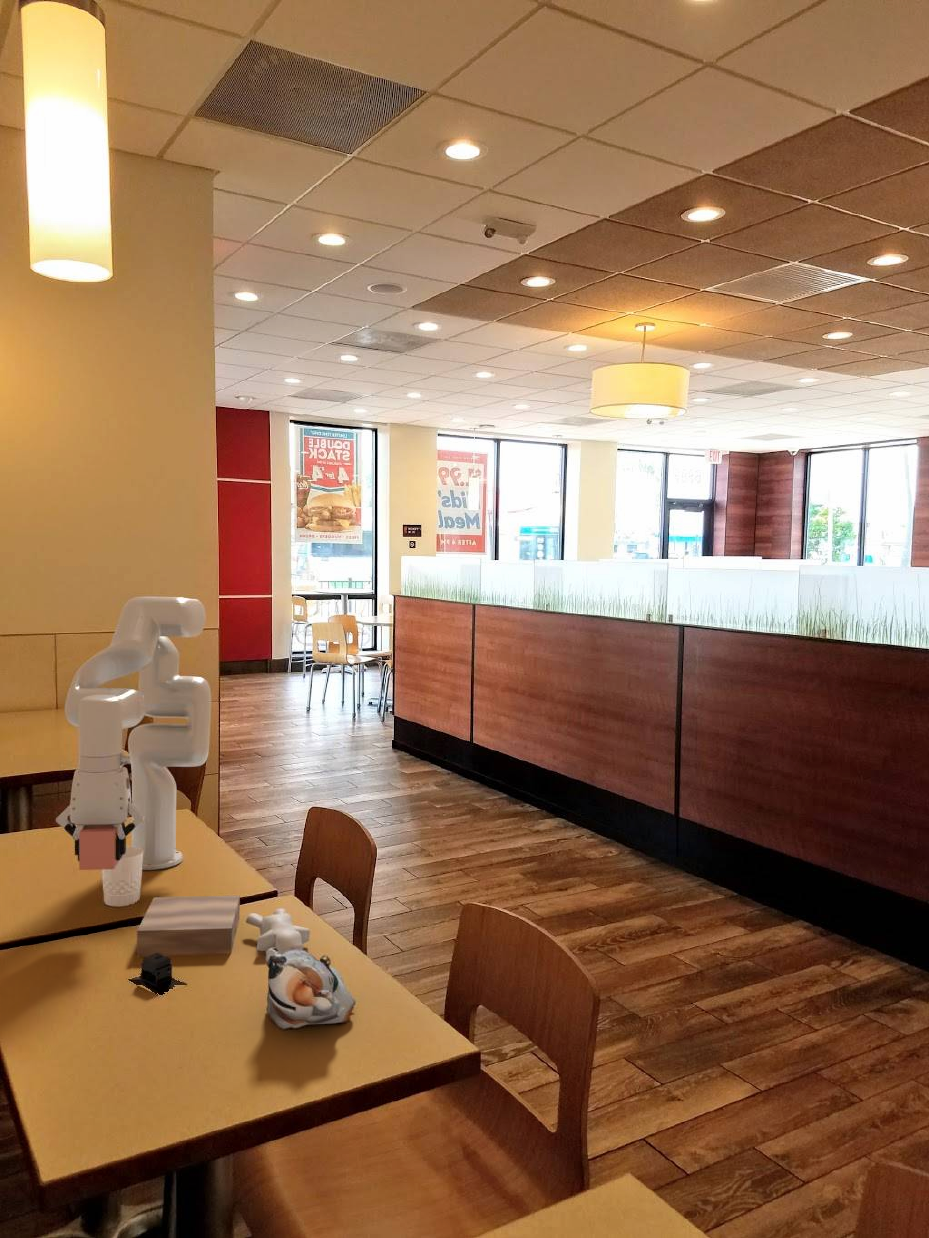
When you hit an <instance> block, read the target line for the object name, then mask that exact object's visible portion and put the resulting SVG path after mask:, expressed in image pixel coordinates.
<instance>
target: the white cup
mask: <svg viewBox="0 0 929 1238" xmlns="http://www.w3.org/2000/svg"><path fill="white" fill-rule="evenodd" d="M142 863H143V850H142V849H141V848H138V847H133V846H132V845H130V846H129V845H126V853H125V854H123V856H122V857H121V859H120V860H119V862H118V864H117V865H116V867H115V868H114V869H101V878H102V890H103V902H104V904H105V905H107V906H110V907H117V908H119V907H126V906H131V905H134V904H136V903H137V901H138V900H139V901H140V897H141V887H142V879H143V878H142V877H143V870H142ZM139 901H138V902H139ZM135 902H136V903H135ZM130 904H131V905H130Z"/></svg>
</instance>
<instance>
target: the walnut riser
mask: <svg viewBox="0 0 929 1238" xmlns="http://www.w3.org/2000/svg"><path fill="white" fill-rule="evenodd" d="M240 898H241V896H240V895H207V896H206V895H205V896H201V895H199V896H164V897H163V896H161V897H160V896H159V897H157V896H156V897H153V898H152V901H151V903H150V905H149V907H148V908H147V911H146V912H145V914H144V916H143V918H142V920H141V923H140V925H139V927H138V928H137V931H136V934H137V936H136V957H137V956H142V957H147V956H150V955H152V954H155V953H159V954H162V955H163V957H164V956H166V957H169V955H172V956H194V955H195V956H196V955H198V956H201V955H203V956H204V955H228V954H229V955H231V954H232V952H233V948H234V944H235V938H236V934H237V931H238V926H239V922H240V911H241V910H240V907H241V906H240V905H241V901H240V900H241V899H240ZM167 955H168V956H167Z"/></svg>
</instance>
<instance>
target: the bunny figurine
mask: <svg viewBox="0 0 929 1238" xmlns="http://www.w3.org/2000/svg"><path fill="white" fill-rule="evenodd" d="M245 922H246V923H247V924H249V925H251V926H254V927H257V928H259V933H260V935H259V937H257V942H256V944H257V945H256V950H257V951H258V952H266V951H267V950H268V949H270V948H272V947H276V948H277V950H278V952H279V953H280V954H284V953H285V952H287V951H290V950H304V945H303V944H306V943H308V942H309V941H310V934H311V932H310V928H309V927H303V926H299V925H295V924H293V920H292V916H291V915H290V914H289V913H287V912H286V909H285V908H282V907H281V908H278V909H275V910H274V911H273V914H272V915H268V916H262V915H260V914H258V913H253V912H252V913H249V914H248V916H247V918H246V920H245Z"/></svg>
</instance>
